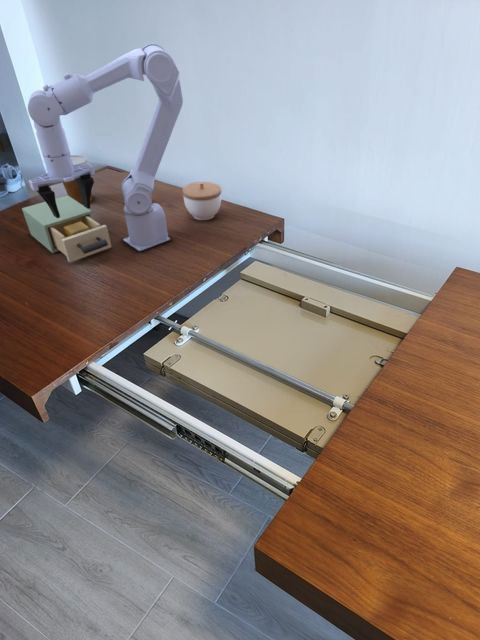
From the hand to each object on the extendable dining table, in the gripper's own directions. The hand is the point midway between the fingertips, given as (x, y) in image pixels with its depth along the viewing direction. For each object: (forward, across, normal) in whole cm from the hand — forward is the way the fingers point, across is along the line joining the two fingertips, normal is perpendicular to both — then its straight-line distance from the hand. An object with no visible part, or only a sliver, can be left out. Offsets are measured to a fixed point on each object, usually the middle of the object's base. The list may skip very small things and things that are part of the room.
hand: (72, 211), depth 112 cm
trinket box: (+10, +35, -4) cm, 37 cm away
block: (+8, 0, 0) cm, 8 cm away
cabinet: (+10, 0, +10) cm, 15 cm away
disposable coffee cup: (+10, +14, +28) cm, 33 cm away
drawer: (+9, 0, -1) cm, 9 cm away
